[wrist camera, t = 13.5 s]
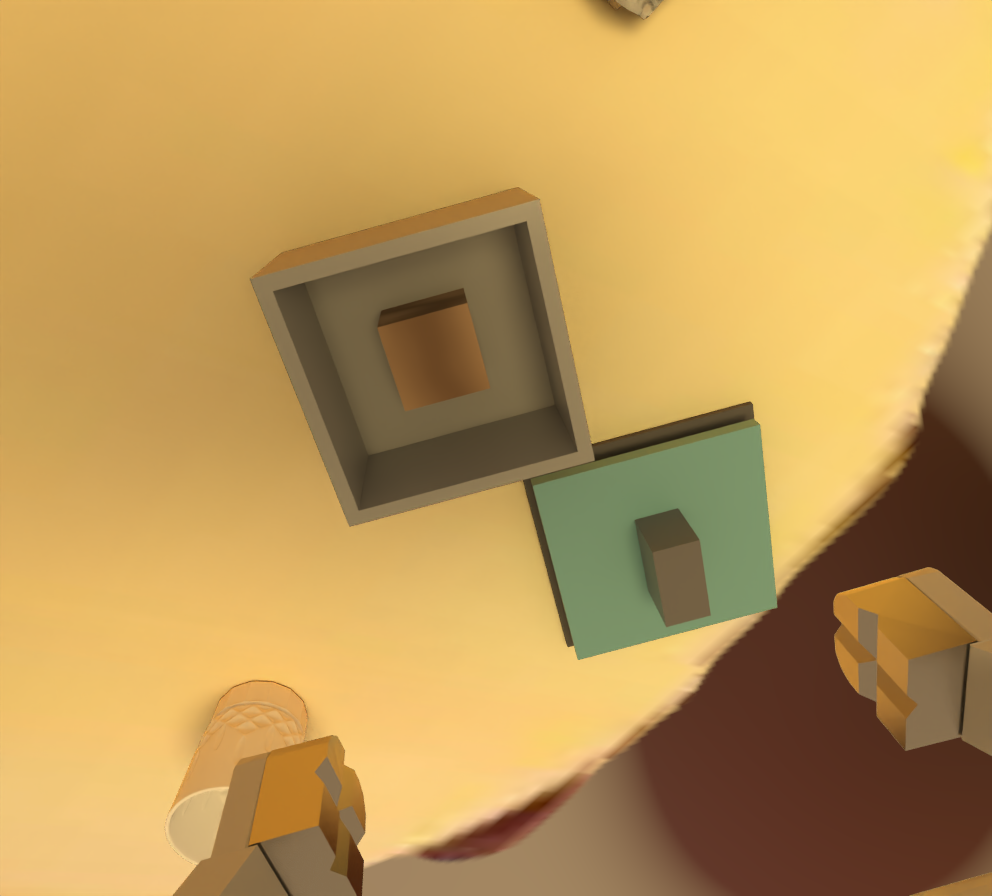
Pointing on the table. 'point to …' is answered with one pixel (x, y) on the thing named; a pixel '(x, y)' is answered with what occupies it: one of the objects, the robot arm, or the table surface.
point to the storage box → (367, 374)
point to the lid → (660, 538)
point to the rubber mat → (629, 445)
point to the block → (433, 349)
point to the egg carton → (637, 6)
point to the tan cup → (230, 759)
